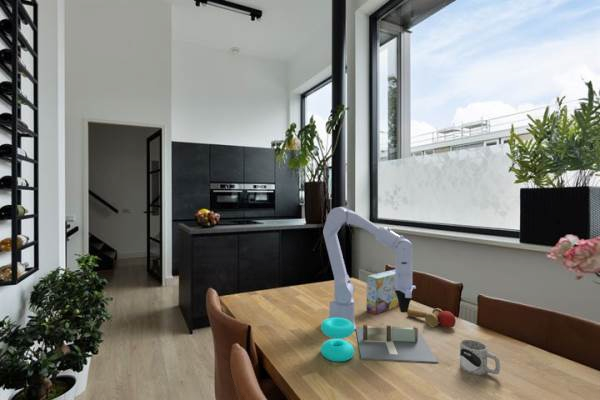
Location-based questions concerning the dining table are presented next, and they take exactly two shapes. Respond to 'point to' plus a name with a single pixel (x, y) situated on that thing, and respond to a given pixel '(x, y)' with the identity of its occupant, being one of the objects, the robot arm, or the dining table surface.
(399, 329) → the fence gate
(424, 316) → the kendama
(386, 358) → the card
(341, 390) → the dining table surface
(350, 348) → the donuts
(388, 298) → the snack box
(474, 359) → the mug
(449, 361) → the dining table surface
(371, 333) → the fence fixed
